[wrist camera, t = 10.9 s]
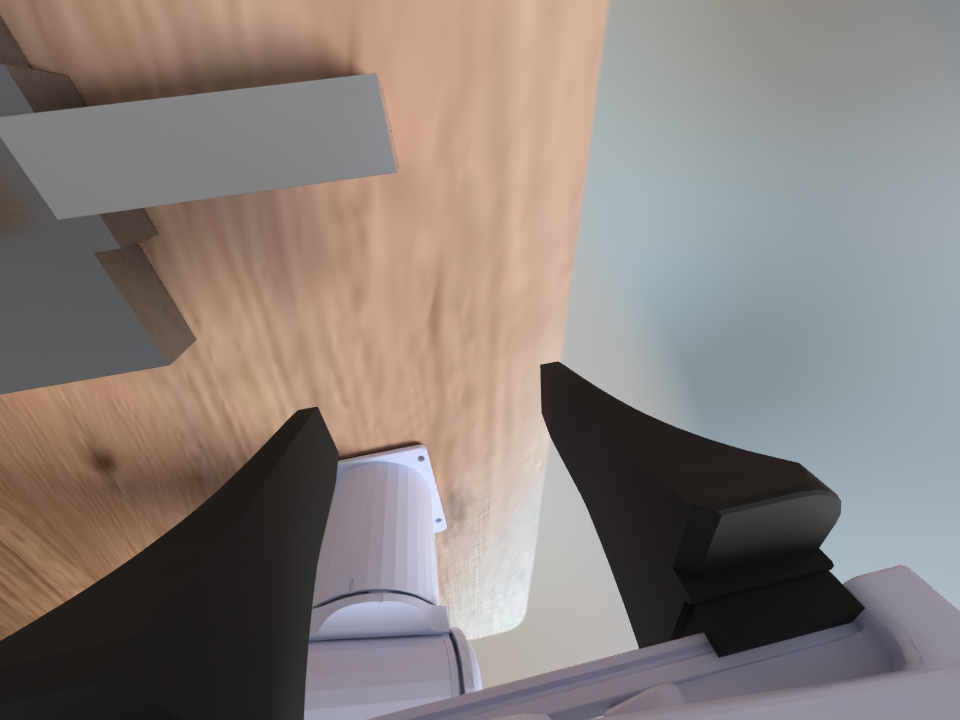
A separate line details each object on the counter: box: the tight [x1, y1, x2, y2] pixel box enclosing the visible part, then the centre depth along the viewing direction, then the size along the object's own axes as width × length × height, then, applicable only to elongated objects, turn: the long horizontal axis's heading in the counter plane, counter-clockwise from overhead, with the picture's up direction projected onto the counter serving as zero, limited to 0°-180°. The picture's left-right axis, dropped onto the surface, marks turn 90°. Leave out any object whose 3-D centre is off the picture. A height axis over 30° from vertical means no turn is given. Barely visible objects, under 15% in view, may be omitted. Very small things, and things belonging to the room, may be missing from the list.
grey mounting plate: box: [0, 16, 399, 394], centre depth 13 cm, size 16×27×3 cm, turn 96°
